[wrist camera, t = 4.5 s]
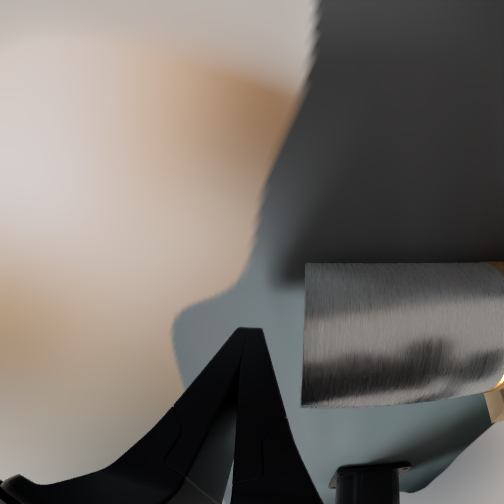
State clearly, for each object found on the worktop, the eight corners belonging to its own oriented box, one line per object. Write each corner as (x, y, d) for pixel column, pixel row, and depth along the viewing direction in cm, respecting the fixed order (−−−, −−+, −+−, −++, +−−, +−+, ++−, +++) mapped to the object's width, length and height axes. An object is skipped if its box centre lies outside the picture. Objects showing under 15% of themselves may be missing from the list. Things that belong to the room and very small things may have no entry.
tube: (570, 248, 8) (630, 278, 4) (549, 334, 9) (596, 379, 5) (304, 245, 10) (306, 296, 6) (301, 356, 11) (298, 439, 7)
